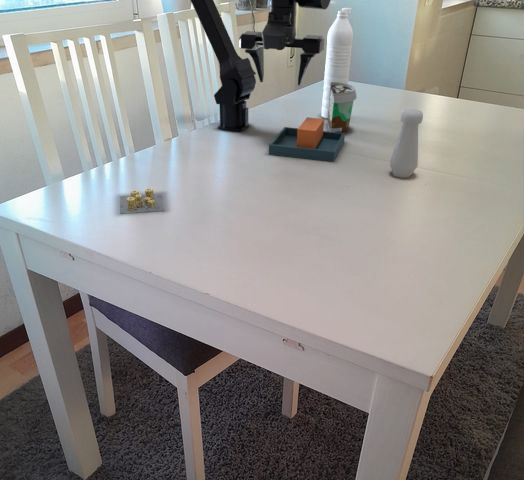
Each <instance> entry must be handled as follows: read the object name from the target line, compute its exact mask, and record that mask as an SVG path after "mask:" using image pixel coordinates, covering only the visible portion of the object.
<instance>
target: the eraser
mask: <svg viewBox="0 0 524 480" xmlns="http://www.w3.org/2000/svg"><path fill="white" fill-rule="evenodd" d="M324 126H325V118H319V117H306V118H305V119H304V121H303V122H302V123H301V124H300V125H299V127H297V128H298V130H297V147H302V148H311V149H317V148H318V146H319V145H320V143H321V142H322V140H323V131H324V128H325V127H324Z"/></svg>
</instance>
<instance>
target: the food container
mask: <svg viewBox="0 0 524 480" xmlns="http://www.w3.org/2000/svg"><path fill="white" fill-rule="evenodd" d="M357 98H358V97H357V91H356V86H354V85H352V84H349V83H348V84H344V83H337V82H331V85H330V99H329V112H328V119H327V127H328V131H329V132H338V133H345V134H347V133H348V131H349V128H350V122H351V117H352V110H353V106H354V101H355V100H357Z"/></svg>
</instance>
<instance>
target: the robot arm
mask: <svg viewBox="0 0 524 480" xmlns="http://www.w3.org/2000/svg"><path fill="white" fill-rule="evenodd" d="M189 1H190V3H191V5H192V7H193V10H194V11H195V13H196V17H197V18H198V20H199V23H200V25H201V27H202V29H203V31H204V33H205V36H206V38H207V40H208V42H209V44H210V46H211V48H212V51H213V53H214V55H215V58H216V60H217V63H218V65H219V66H218V69H219V70H218V71H219V80H220V83H221V86H220V87H219V89H218V90H217V91H216V92H215V93H214V95H213V97H214V101H215V103H216V105H219V125H218V126H217V129H218V130H227V131H236V132H242V131H244V129H246V127H248V126H249V124H250V123H249V107H247V100H249V99H250V97H251V94H252V92H253V91H254V90H255V87H256V84H257V80H256V76H255V75H258V79H259V82H260V83H263V82H264V77H265V63H264V61H265V59H264V56H265V55H264V52H265V51H264V50H277V51H283V50H284V49H285V48H292V49H293V48H295V49H301V50H302V52H301V53H300V54H299V59H300V61H299V62H300V63H299V70H298V75H297V76H298V77H297V86H301V85H302V82H303V80H304V77H305V74H306V71H307V68H308V66H309V64H310V62H311V60H312V58H315V57H316V56H317V55H319V54H320V53H321V52H323V51H324V50H325V38H324V36H323V35H315V34H307V35H305V36H304V37H303V38H296V36H297V32H296V31H297V29H296V17H297V9H296V8H297V5H298V7H299V8H303V9H315V10H327V9H328V8H329V6H330V3H331V0H269V12H268V16H267V22H266V24H265V26H264V28H263V30H262V31H251V30H247V31H245V32H243V33H241V34H240V36H239V39H238V48H239V49H244V52H245V53H246V54H248V55H250V57H251V58H252V61H253V63H254V66H255V69H256V71H255V70H254V69H253V67H252V63H251V60H250V59H249V57H245V58H242V57H241V56H240V55H239V54H238V53H237V51H236V49H235V47H234V44H233V42H232V39H231V37H230V35H229V32H228V30H227V27H226V26H225V24H224V21H223V19H222V17H221V14H220V12H219V10H218V7H217V4H216V3H215V1H214V0H189Z"/></svg>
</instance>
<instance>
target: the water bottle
mask: <svg viewBox="0 0 524 480" xmlns="http://www.w3.org/2000/svg"><path fill="white" fill-rule="evenodd" d="M348 14H352V7H342V8H341V10H338V11H337V14H336V18H335V20H334V21H333V22H332V23H331V26H330V27H329V29H328V31H327V41H326V55H325V67H324V78H323V91H322V101H321V105H322V106H321V117H322V119H326V120H328V112H329V99H330V85H331V82H337V83H344V84H349V80H350V72H351V71H350V70H351V62H352V61H351V60H352V59H351V58H352V51H353V43H354V42H353V41H354V29H353V27H352V26H351V23H350V21H349V19H348V16H349V15H348Z"/></svg>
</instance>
